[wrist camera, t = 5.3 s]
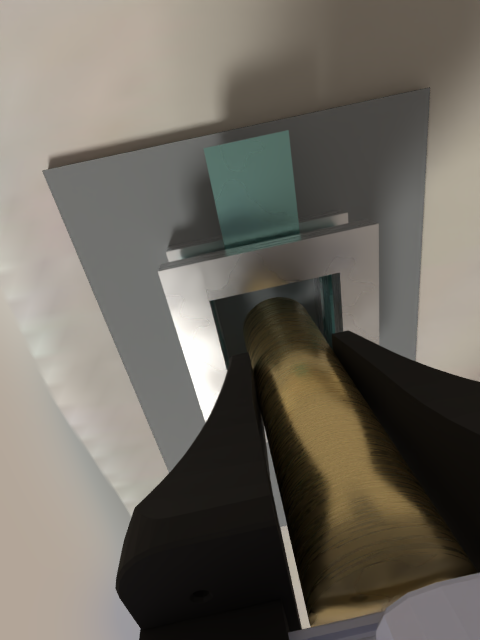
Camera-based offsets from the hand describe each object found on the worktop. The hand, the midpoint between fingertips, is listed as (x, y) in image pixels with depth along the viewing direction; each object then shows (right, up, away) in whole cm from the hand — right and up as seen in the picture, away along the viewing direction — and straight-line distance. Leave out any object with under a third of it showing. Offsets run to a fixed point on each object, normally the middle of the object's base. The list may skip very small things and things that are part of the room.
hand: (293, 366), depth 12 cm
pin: (0, +1, +3) cm, 3 cm away
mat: (0, -2, +8) cm, 8 cm away
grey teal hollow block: (-1, +3, +4) cm, 6 cm away
